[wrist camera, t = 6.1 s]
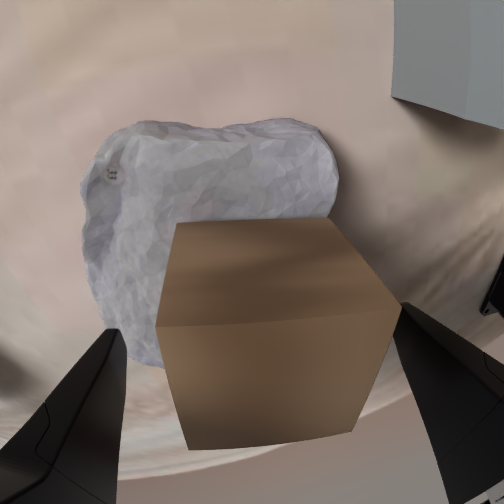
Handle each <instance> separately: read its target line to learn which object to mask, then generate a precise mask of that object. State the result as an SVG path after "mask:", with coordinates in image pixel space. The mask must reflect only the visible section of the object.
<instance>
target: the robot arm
mask: <svg viewBox="0 0 504 504" xmlns="http://www.w3.org/2000/svg"><path fill="white" fill-rule="evenodd" d="M399 304H400V305H401V306H402V309H401V312H400V315H399V318H398V321H397V324H396V327H395V330H394V332H393V338H394V341H395V345H396V348H397V351H398V355H399V358H400V361H401V364H402V367H403V370H404V372H405V374H406V377H407V379H408V382H409V385H410V387H411V390H412V392H413V395H414V397H415V400H416V402H417V405H418V408H419V411H420V414H421V416H422V419H423V422H424V424H425V427H426V430H427V433H428V436H429V439H430V442H431V445H432V448H433V451H434V454H435V457H436V460H437V464H438V467H439V470H440V474H441V477H442V480H443V484H444V487H445V490H446V494H447V498H448V501H449V504H464V503H466V502H468V501H469V500H471V499H473V498H475V497H476V496H478V495H480V494H482V493H483V492H485V491H486V493H487V496H488V498H489V499H487V500H486V501H484V502H483V503H481V504H504V365H503V364H502V363H500V362H499V361H497V360H496V359H494V358H492V357H491V356H489V355H488V354H486V353H485V352H483V351H482V350H481V349H479V348H478V347H476V346H475V345H473V344H472V343H470V342H469V341H467V340H466V339H464V338H463V337H461V336H459V335H458V334H456V333H455V332H453V331H452V330H450V329H449V328H447V327H446V326H444V325H443V324H441V323H440V322H438V321H436V320H435V319H433V318H432V317H430V316H429V315H427V314H426V313H424V312H422V311H421V310H419V309H418V308H416V307H415V306H413V305H411V304H410V303H408V302H404V303H399ZM496 312H498V313H499V314H500V315H501V316H502V318H503V319H504V258H503V260H502V263H501V265H500V268H499V270H498V273H497V275H496V277H495V279H494V282H493V284H492V286H491V288H490V291H489V293H488V295H487V297H486V299H485V301H484V303H483V305H482V307H481V309H480V313H481V314H482V315H483V316H486V315H489V314H492V313H496ZM126 368H127V347H126V344H125V341H124V339H123V336H122V333H121V331H120V329H118V328H108V329H106V330H105V331H104V332H103V333H102V334H101V335H100V336H99V338H98V339H97V340H96V341H95V342H94V343H93V344H92V345H91V347H90V348H89V349H88V350H87V351H86V352H85V354H84V355H83V356H82V357H81V358H80V359H79V360H78V362H77V363H76V364H75V365H74V366H73V367H72V369H71V370H70V371H69V372H68V373H67V375H66V376H65V377H64V378H63V379H62V380H61V382H60V383H59V384H58V385H57V386H56V388H55V389H54V390H53V391H52V392H51V394H50V395H49V396H48V397H47V399H46V400H45V402H43V403H42V405H41V406H40V407H39V408H38V410H37V411H36V412H35V413H34V414H33V415H32V417H31V418H30V419H29V420H28V421H27V422H26V423H25V424H24V426H23V427H22V428H21V429H20V430H19V431H18V432H17V433H16V434H15V435H14V436H13V437H12V438H11V439H10V440H9V441H8V442H7V443H6V444H5V445H4V446H3V447H2V449H1V450H0V504H116V492H117V476H118V462H119V450H120V440H121V430H122V421H123V413H124V405H125V396H126Z"/></svg>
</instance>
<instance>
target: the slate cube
mask: <svg viewBox="0 0 504 504" xmlns="http://www.w3.org/2000/svg"><path fill="white" fill-rule="evenodd" d="M391 96H392V97H395V98H399V99H403V100H407V101H410V102H414V103H417V104H420V105H424V106H427V107H430V108H434V109H437V110H440V111H443V112H446V113H449V114H452V115H454V116H457V117H460V118H463V119H466V120H470V121H474V122H478V123H482V124H485V125H489V126H493V127H496V128H499V129H503V130H504V1H503V0H394V55H393V74H392V89H391Z"/></svg>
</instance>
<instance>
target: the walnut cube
mask: <svg viewBox="0 0 504 504" xmlns="http://www.w3.org/2000/svg"><path fill="white" fill-rule="evenodd" d="M401 309H402V306H401V305H400V304H399V302H398V301H397V300H396V298H395V297H394V296H393V295H392V293H391V292H390V291H389V290H388V288H387V287H386V286H385V284H384V283H383V282H382V281H381V279H380V278H379V277H378V276H377V274H376V273H375V272H374V271H373V269H372V268H371V267H370V266H369V265H368V263H367V262H366V261H365V260H364V258H363V257H362V256H361V255H360V254H359V252H358V251H357V250H356V249H355V248H354V246H353V245H352V244H351V243H350V242H349V240H348V239H347V238H346V237H345V236H344V235H343V233H342V232H341V231H340V230H339V229H338V228H337V226H336V225H335V224H334V223H333V222H332V221H331V220H330V218H290V219H255V220H227V221H203V222H181V223H177V224H176V228H175V233H174V237H173V241H172V246H171V250H170V254H169V259H168V264H167V268H166V273H165V278H164V283H163V288H162V293H161V298H160V303H159V308H158V313H157V319H156V324H155V329H156V333H157V338H158V342H159V347H160V351H161V355H162V359H163V363H164V367H165V371H166V375H167V379H168V382H169V386H170V390H171V393H172V397H173V401H174V404H175V408H176V411H177V414H178V418H179V421H180V424H181V428H182V431H183V434H184V437H185V440H186V443H187V446H188V449H189V450H216V449H234V448H247V447H258V446H268V445H276V444H284V443H291V442H298V441H304V440H310V439H316V438H322V437H327V436H332V435H337V434H342V433H347V432H351V431H352V430H353V428H354V426H355V424H356V422H357V420H358V417H359V415H360V413H361V411H362V409H363V407H364V405H365V402H366V400H367V398H368V396H369V393H370V391H371V389H372V386H373V384H374V382H375V379H376V377H377V374H378V372H379V369H380V367H381V364H382V362H383V359H384V357H385V354H386V352H387V349H388V346H389V344H390V341H391V338H392V335H393V332H394V330H395V327H396V324H397V321H398V318H399V315H400V312H401Z"/></svg>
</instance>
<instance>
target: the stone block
mask: <svg viewBox="0 0 504 504" xmlns="http://www.w3.org/2000/svg"><path fill="white" fill-rule="evenodd" d="M338 183H339V173H338V168H337V162H336V159H335V156H334V154H333V152H332V150H331V149H330V147H329V146H328V144H327V143H326V142H325V140H324V138H323V136H322V134H321V132H320V130H319V129H318V128H317V127H315V126H312V125H309V124H306V123H303V122H299V121H296V120H293V119H291V118H280V119H269V120H265V121H257V122H253V123H249V124H236V125H229V126H225V127H224V128H222V129H205V128H199V127H193V126H190V125H187V124H184V123H180V122H157V121H140V122H137V123H136V124H133V125H131V126H129V127H127V128H124V129H120V130H118V131H117V132H115V133H113V134H112V135H110V136H109V137H108V138H107V139H106V140H105V141H104V142H103V144H102V146H101V147H100V148H99V150H98V151H97V153H96V155H95V157H94V158H93V159H92V161H91V163H90V165H89V168H88V170H87V171H86V173H85V174H84V175H83V178H82V181H81V188H80V193H81V196H82V199H83V202H84V206H85V209H86V220H85V223H84V226H83V229H82V251H83V256H84V262H85V263H86V271H87V281H88V283H89V285H90V288H91V292H92V294H93V297H94V299H95V300H96V302H97V303H98V305H99V309H100V314H99V315H100V316H101V318H102V320H103V322H104V325H105V327H106V329H108V328H118V329H120V331H121V333H122V336H123V339H124V341H125V344H126V347H127V357H129V358H131V359H133V360H135V361H137V362H139V363H141V364H143V365H148V366H154V367H160V368H163V369H165V367H164V363H163V359H162V355H161V351H160V347H159V342H158V338H157V333H156V329H155V324H156V319H157V313H158V308H159V303H160V298H161V293H162V288H163V283H164V278H165V273H166V268H167V264H168V259H169V254H170V250H171V246H172V241H173V237H174V233H175V228H176V224H177V223H181V222H203V221H227V220H255V219H290V218H327V217H328V215H329V213H330V211H331V209H332V207H333V205H334V203H335V201H336V195H337V189H338Z"/></svg>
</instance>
